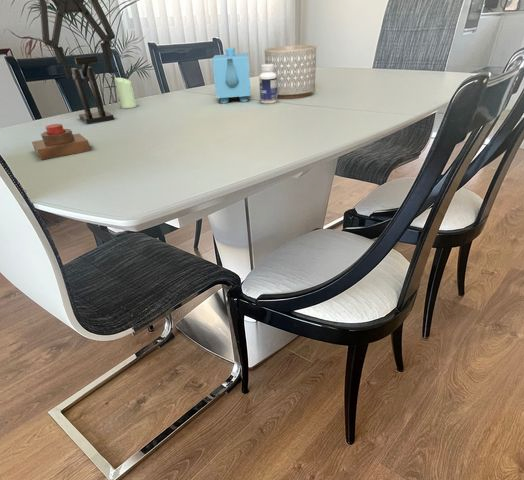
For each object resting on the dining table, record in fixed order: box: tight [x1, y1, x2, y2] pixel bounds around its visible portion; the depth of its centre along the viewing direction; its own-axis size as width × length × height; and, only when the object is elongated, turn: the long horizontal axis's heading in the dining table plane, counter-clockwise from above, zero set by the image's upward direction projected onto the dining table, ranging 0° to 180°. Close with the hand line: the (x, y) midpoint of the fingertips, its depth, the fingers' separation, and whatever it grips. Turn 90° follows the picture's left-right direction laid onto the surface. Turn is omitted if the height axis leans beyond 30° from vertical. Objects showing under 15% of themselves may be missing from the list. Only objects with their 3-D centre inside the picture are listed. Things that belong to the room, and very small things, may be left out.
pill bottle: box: [258, 63, 278, 105], centre depth 120 cm, size 5×5×10 cm
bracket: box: [70, 66, 115, 125], centre depth 113 cm, size 10×8×13 cm
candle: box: [114, 77, 137, 109], centre depth 128 cm, size 5×5×8 cm
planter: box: [264, 44, 317, 100], centre depth 126 cm, size 16×16×13 cm
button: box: [45, 123, 65, 135], centre depth 88 cm, size 4×4×2 cm
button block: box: [31, 128, 92, 161], centre depth 90 cm, size 11×9×4 cm
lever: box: [74, 55, 99, 83], centre depth 106 cm, size 12×6×2 cm, turn 32°
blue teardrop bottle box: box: [211, 47, 252, 104], centre depth 124 cm, size 22×11×14 cm, turn 2°
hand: (90, 75), depth 104 cm, fingers open, 10 cm apart
